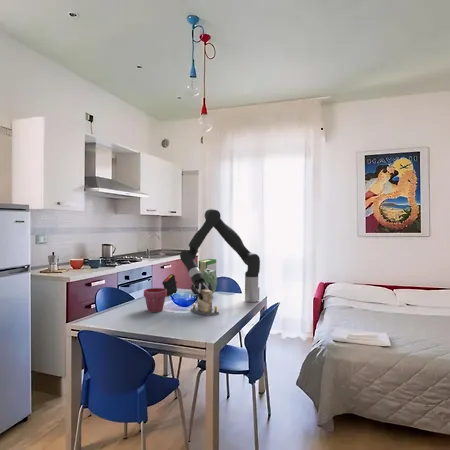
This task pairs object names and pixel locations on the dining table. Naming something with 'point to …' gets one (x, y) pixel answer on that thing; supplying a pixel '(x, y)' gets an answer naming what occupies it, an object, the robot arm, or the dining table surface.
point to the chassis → (205, 313)
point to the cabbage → (210, 278)
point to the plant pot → (155, 299)
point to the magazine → (170, 285)
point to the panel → (205, 300)
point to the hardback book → (207, 265)
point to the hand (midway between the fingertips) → (206, 298)
